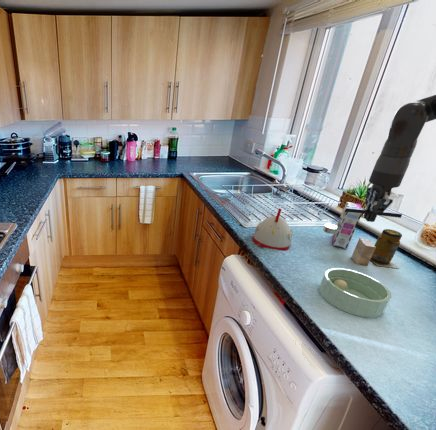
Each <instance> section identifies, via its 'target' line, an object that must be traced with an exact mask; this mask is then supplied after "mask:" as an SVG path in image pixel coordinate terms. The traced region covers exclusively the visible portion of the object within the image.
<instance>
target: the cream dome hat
mask: <svg viewBox="0 0 436 430" xmlns="http://www.w3.org/2000/svg"><path fill="white" fill-rule="evenodd" d="M281 212H282V208H278V210H277V213H276V215H271V216H269V217H266V218H265V219H264V220H262V222H261V221H260V222H258V224H257V225H256V227H255V229H254V232H253V235H252V241H253V243H254V244H255V245H257V246H259V247H260V248H266V249H271V250H276V251H282V252H285V251H287V250H289V249H290V247H291V244H292V239H293V230H292V229H291V228H290V226H289V223H288V222H287V221H286V219H285V218H283V217H282V216H281Z"/></svg>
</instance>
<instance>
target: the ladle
mask: <svg viewBox="0 0 436 430" xmlns="http://www.w3.org/2000/svg"><path fill="white" fill-rule="evenodd" d="M344 207H345V206H344ZM346 212H355V213H362V214H363V215H364V214H368V212H369V209H367V208H361V209H360V208H351V207H345V208H342V211H341V213H340V217H339V219H338V223H337V224H338V225H336V224H332V223H325V224H323V228H322V231H323V232H325V233H326V234H329V235H333V234H338V231H339V228H340V227H341V225H342V222H343V220H344V217H345V214H346ZM377 216H381V217H390V218H391V217H392V218H400V219H401V218H402V216H403V214H402V213H401V212H395V211H388V210H387V211H386V210H385V211H384V212H378V214H377Z"/></svg>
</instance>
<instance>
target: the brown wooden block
mask: <svg viewBox="0 0 436 430" xmlns="http://www.w3.org/2000/svg"><path fill="white" fill-rule="evenodd" d="M374 245H375V244H374V243H373V242H372V241H371V240H370V239H368V238H361V237H360V238H359V239H358V241H357V243H356V245H355V247H354V249H353V252H352V255H351V259H352V261H353V262H354V263H355V265H358V266H363V267H368V266H369V263H370V262H371V260H370V259H371V257H372V255H373V253H374V251H375V249H376V247H375V246H374Z"/></svg>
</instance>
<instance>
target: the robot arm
mask: <svg viewBox="0 0 436 430" xmlns="http://www.w3.org/2000/svg"><path fill="white" fill-rule="evenodd" d="M434 120H436V94H433V95H430V96H426V97H424V98H421V99H418V100H414V101H412V102H408V103H406V104H403V105H402V106H400V107H399V108H398V109H397V110H396V112H395V113H394V115H393V118H392V121H391V124H390V127H389V131H388V135H387V138H386V140H385V141H384V143H383V146H382V149H381V151H380V154H379V156H378V158H377V159H376V162H375V163H374V166H373V169H372V171H371V174H370V176H369V179H368V182H369V184H371V185H372V186H371V187H366V194H365V199H364V200H365V201H364V204H365V205H366V209H369V212H368V214H364V213H363V219H364V220H365V221H366V222H368V223H369V222H370V223H374V222H375V221H376V219H377V217H378V215H377V214H378V212H384V211H386V210H387V209H388V208H389V206H391V204H392V203H393V202H394V200H393V199H392V198H390V197H391V194H392V189H395V188H399V187H400V186H401V184H402V182H403V179H404V177H405V175H406V173H407V170H408V168H409V166H410V162H411V158H412V156H413V154H414V152H415V150H416V148H417V145H418V139H419V136H420V134H421V133H422V131H423V129H424V126H425V124H426V123H429V122H431V121H434Z"/></svg>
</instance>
